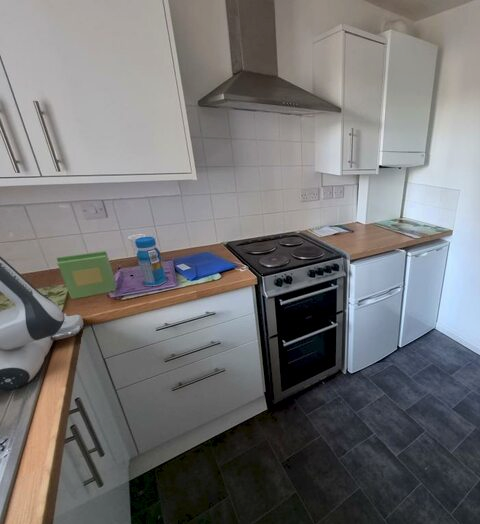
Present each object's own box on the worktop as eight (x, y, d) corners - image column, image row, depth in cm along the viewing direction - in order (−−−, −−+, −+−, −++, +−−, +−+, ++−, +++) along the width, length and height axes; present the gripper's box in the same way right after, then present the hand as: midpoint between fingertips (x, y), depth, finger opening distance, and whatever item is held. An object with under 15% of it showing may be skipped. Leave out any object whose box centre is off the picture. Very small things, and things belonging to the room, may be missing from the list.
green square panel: (70, 299, 115) (55, 260, 109) (73, 294, 119) (58, 255, 113) (116, 291, 122) (104, 253, 116) (117, 286, 126) (106, 249, 120)
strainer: (144, 265, 147) (136, 236, 141) (131, 264, 148) (123, 235, 142) (155, 260, 153) (148, 232, 148) (143, 259, 154) (135, 231, 149)
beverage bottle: (142, 288, 124) (129, 242, 117) (147, 280, 132) (135, 236, 124) (165, 285, 127) (153, 240, 119) (169, 277, 134) (158, 235, 127)
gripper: (75, 323, 86) (83, 302, 97) (-30, 346, 76) (-7, 320, 87) (82, 341, 88) (89, 319, 99) (-19, 365, 78) (2, 338, 89)
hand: (44, 319), depth 93 cm, fingers open, 8 cm apart
